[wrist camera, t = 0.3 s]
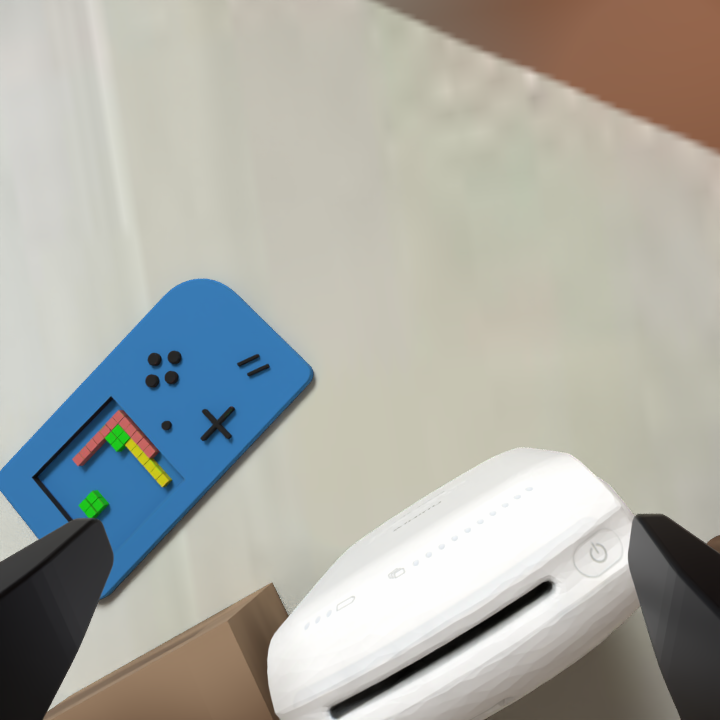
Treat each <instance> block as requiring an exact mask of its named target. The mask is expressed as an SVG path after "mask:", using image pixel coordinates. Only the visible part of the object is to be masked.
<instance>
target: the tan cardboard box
mask: <svg viewBox="0 0 720 720" xmlns="http://www.w3.org/2000/svg"><path fill="white" fill-rule="evenodd" d="M288 617H289V616H288V614H287V612H286V610H285V608H284V606H283V604H282V602H281V600H280V598H279V596H278V594H277V592H276V590H275V588H274V586H273V584H272V583H270V584H268V585H267V586H265V587H263V588H261V589H260V590H258V591H256V592H254V593H252V594H251V595H249V596H247V597H245V598H244V599H242V600H240V601H238V602H236V603H235V604H233V605H231V606H229V607H227V608H226V609H224V610H222V611H220V612H219V613H217V614H215V615H213V616H211V617H210V618H208V619H206V620H204V621H203V622H201V623H199V624H197V625H195V626H194V627H192V628H190V629H188V630H187V631H185V632H183V633H181V634H179V635H178V636H176V637H174V638H172V639H171V640H169V641H167V642H165V643H163V644H162V645H160V646H158V647H156V648H155V649H153V650H151V651H149V652H147V653H146V654H144V655H142V656H140V657H138V658H137V659H135V660H133V661H131V662H130V663H128V664H126V665H124V666H122V667H121V668H119V669H117V670H115V671H114V672H112V673H110V674H108V675H106V676H105V677H103V678H101V679H99V680H98V681H96V682H94V683H92V684H90V685H89V686H87V687H85V688H83V689H82V690H80V691H78V692H76V693H74V694H73V695H71V696H69V697H68V698H66V699H65V700H64V701H62V702H61V703H59V704H58V705H56V706H55V707H54V708H52V709H51V710H49V711H48V712H47V713H46V715H45V716H44V718H43V720H280V719H279V717H278V716H277V715H276V714H275V711H274V707H273V703H272V699H271V695H270V690H269V685H268V674H267V668H268V666H267V658H268V649H269V645H270V642H271V639H272V637H273V636H274V634H275V632H276V631H277V630H278V629H279V627H280V626H281V625H282V624H283V623H284V621H285V620H286V619H287V618H288Z"/></svg>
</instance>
